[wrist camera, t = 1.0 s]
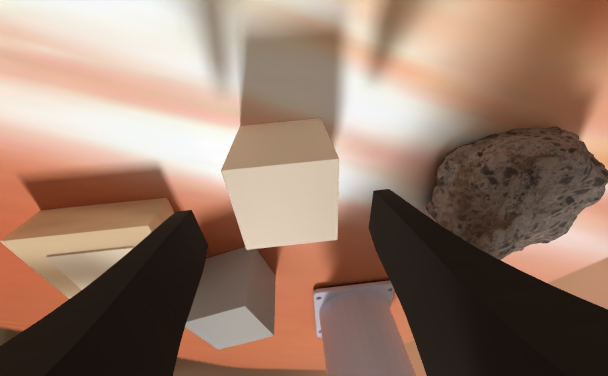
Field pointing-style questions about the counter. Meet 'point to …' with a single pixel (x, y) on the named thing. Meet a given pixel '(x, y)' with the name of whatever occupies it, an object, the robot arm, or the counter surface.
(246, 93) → the counter surface
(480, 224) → the rock
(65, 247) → the maple slab
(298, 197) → the ivory cube
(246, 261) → the slate cube
